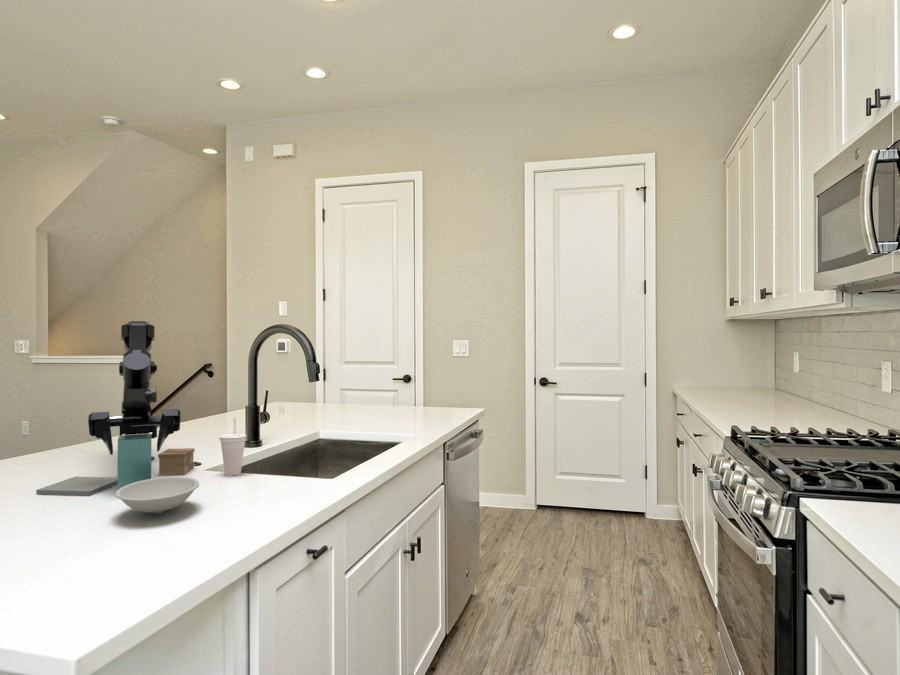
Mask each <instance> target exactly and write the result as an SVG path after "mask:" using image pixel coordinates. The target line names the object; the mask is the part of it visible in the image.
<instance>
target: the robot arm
mask: <svg viewBox="0 0 900 675" xmlns="http://www.w3.org/2000/svg"><path fill="white" fill-rule="evenodd" d="M155 329H156V328H155V325H153V324H150V323H149V322H148V321H144V320H143V321H142V320H130V321H128V322H127V323H125V324H122V325H121V328H120V330H121V331H120V332H121V333H120V334H121V335H120V338H121V342H122V341H123V343H124V345H123V346H124V350H126V352H125V353H123V355H122V358H123V359H122V361H119V366H118V367H119V368H118V369H119V370H118V371H119V376H121V377H123V393H122V401H121V414H122V415H121V416H110V411H97V412H96V411H95V412H93V411H92V412H91V413H89V415H88V419H87V423H88V424H87V425H88V431H89V435H90V436H91V437H95V438H96V439H101V440H102V442H103V443H104V444H105V446H106V448H107V449H108V453H109V455H110V456H112V455H114V454H113V453H114V445H113V438H112V429H111V427H119V436H121V435H137V434H151V440H153V439H157V440H156V441H157V443H156V452H160V450H161V448H162V446H163V444H164V442H165V440H166V439H167V438H168V437H169V435H172V434H174V433H175V432H178V431H180V430H181V429H180V428H181V411H180V409H179V408H169V409H168V408H164V409H161V415H153V414H152V410H153V409H152V407H151V403H157V394H158V392H157V390H158V388H157V386H155V387H154V386H153V387H151V379H152V376H154V375H155V374H156V372H157V371H158V365H157V364H156V363H155V361H152V354H151V352H150V351H151V349H152V348H153V347H152V343H153V342H152V341H155V331H156V330H155ZM158 426H159V429H158ZM154 459H155V456H151V461H152V460H154Z"/></svg>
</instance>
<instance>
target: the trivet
mask: <svg viewBox="0 0 900 675" xmlns="http://www.w3.org/2000/svg"><path fill="white" fill-rule="evenodd" d="M112 486H113V487H115V486H117V477H112V476H111V477H109V476H108V477H107V476H103V477H101V476H99V477H98V476H73V477H72V476H71V477H69V478H67V479H64V480H60V481H58V482H55V483H52V484H50V485H47V486H44V487H40V488H38V489H36V491H35V493H36V494H46V495H45V496H73V495H76V496H79V495H80V496H81V497H91V496H92V495H95V493H96V494H98V493H101V492H102V490H103V491H105V490H107V488H108V489H110V488H112ZM104 489H105V490H104ZM97 492H98V493H97ZM90 495H91V496H90ZM80 496H79V497H80Z"/></svg>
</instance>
